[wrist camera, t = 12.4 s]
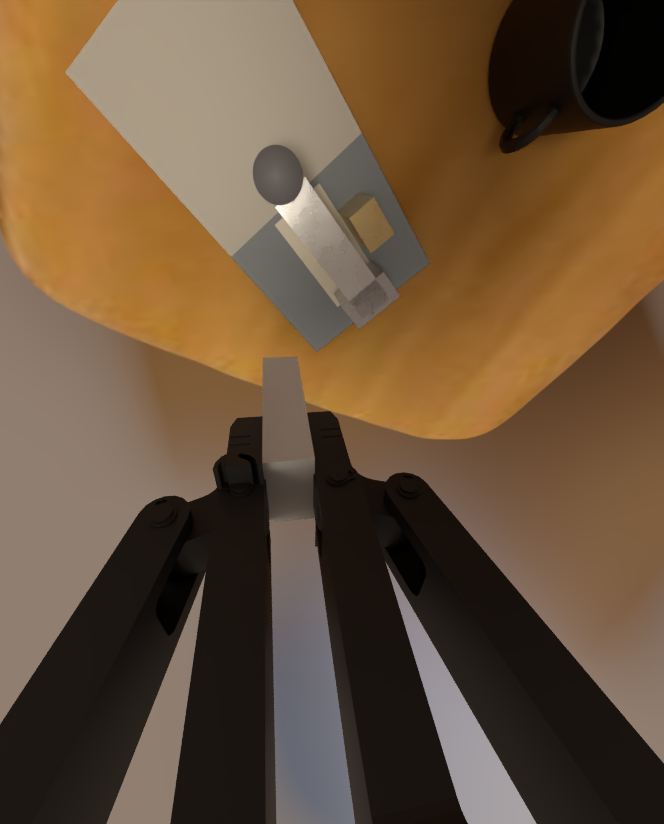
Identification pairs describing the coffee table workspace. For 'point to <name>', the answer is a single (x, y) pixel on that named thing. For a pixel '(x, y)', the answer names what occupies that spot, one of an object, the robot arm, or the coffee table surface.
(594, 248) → the coffee table surface
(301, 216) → the bar
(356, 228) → the block
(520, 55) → the mug
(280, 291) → the door board
